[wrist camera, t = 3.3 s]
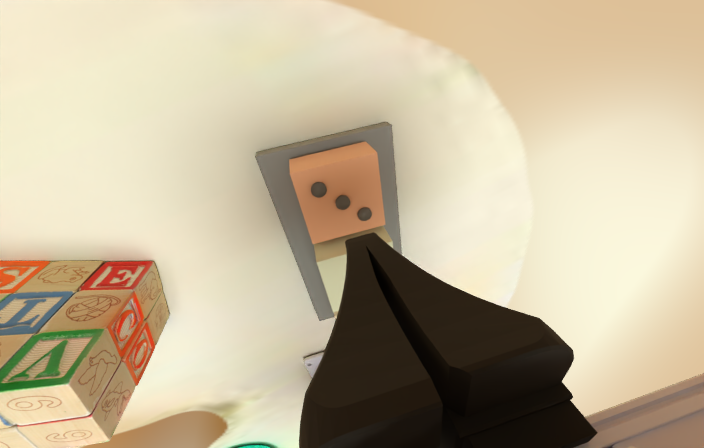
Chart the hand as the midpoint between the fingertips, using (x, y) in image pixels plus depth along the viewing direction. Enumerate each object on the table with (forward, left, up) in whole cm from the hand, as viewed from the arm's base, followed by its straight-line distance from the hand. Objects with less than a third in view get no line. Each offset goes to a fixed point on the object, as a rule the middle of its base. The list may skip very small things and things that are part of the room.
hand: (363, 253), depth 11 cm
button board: (-5, 0, -9) cm, 11 cm away
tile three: (0, 0, -8) cm, 8 cm away
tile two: (-5, 0, -6) cm, 8 cm away
